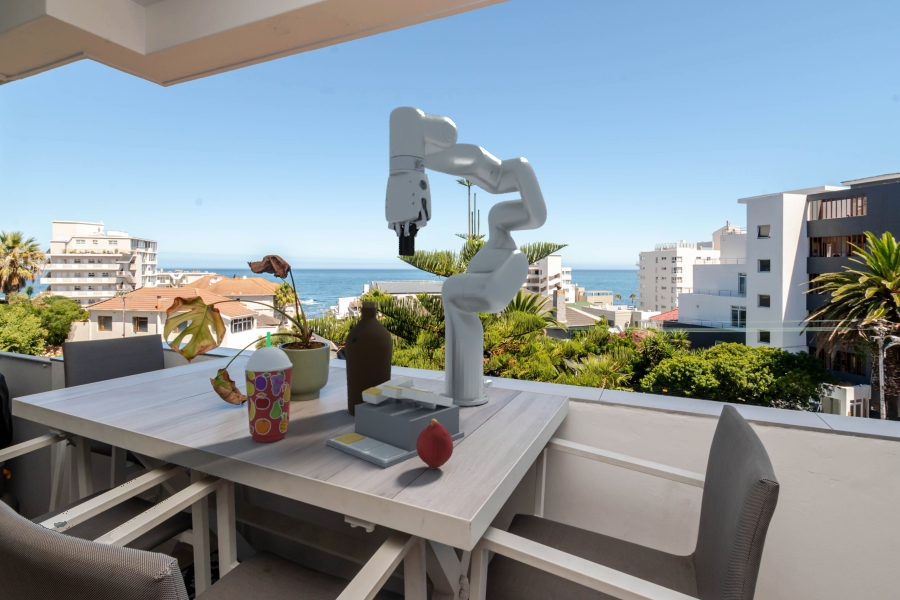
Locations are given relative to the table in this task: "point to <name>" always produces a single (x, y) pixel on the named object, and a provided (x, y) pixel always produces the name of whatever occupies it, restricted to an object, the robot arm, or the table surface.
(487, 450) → the table surface
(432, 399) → the rocker
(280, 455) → the table surface
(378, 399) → the rocker
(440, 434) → the onion
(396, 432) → the switch unit
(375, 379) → the olive oil
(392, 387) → the rocker
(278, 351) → the smoothie
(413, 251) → the robot arm
